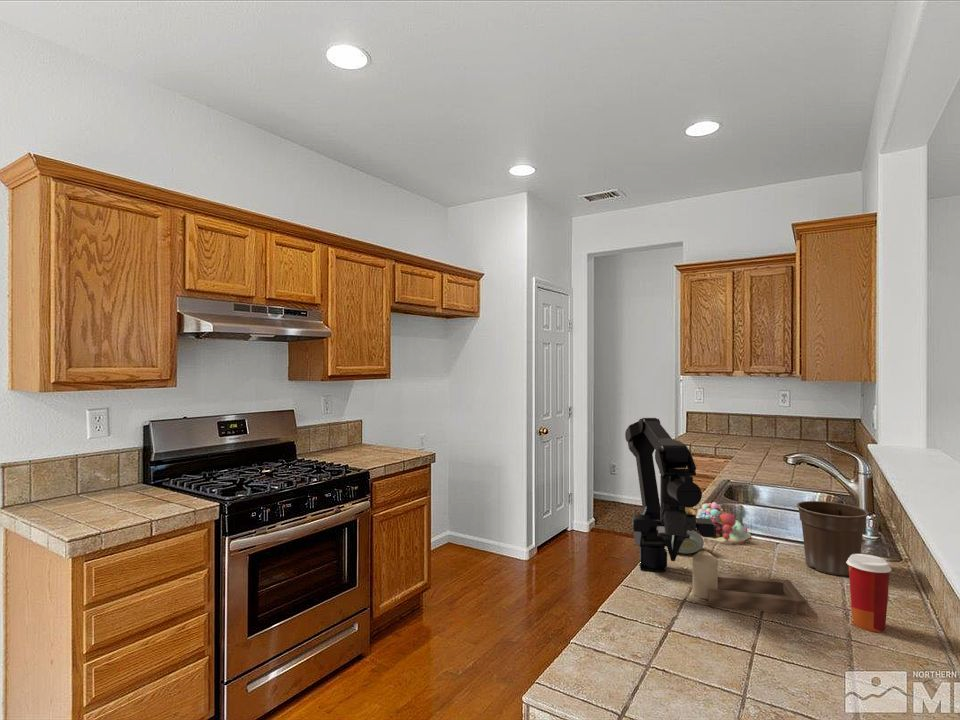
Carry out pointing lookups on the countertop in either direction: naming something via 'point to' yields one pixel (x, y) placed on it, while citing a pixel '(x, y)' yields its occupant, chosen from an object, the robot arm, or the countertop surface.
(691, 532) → the air freshener
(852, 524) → the plant pot
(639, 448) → the robot arm
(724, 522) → the candy landscape model
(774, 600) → the u rest
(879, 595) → the paper cup
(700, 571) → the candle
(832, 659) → the countertop surface
